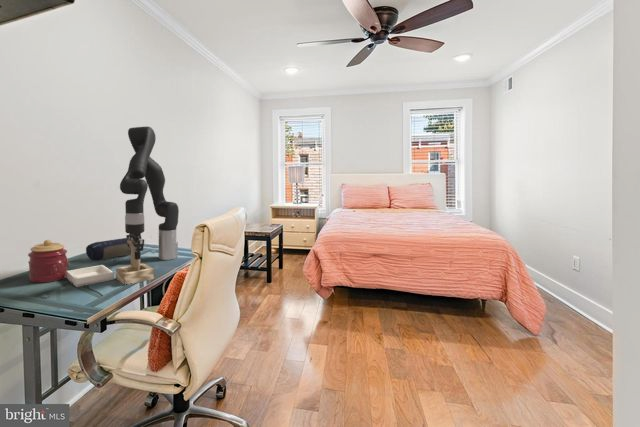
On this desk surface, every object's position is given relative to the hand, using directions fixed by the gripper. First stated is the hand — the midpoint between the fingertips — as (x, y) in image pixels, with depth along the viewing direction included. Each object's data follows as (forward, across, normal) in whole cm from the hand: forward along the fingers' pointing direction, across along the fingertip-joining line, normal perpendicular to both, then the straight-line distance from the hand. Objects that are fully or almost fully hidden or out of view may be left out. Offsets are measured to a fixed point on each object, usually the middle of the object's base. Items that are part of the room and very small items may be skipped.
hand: (135, 257), depth 141 cm
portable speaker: (+11, +42, -5) cm, 43 cm away
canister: (+10, +24, +26) cm, 37 cm away
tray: (+10, +12, +14) cm, 21 cm away
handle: (+6, 0, 0) cm, 6 cm away
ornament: (+10, +37, +20) cm, 44 cm away
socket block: (+10, 0, 0) cm, 10 cm away
